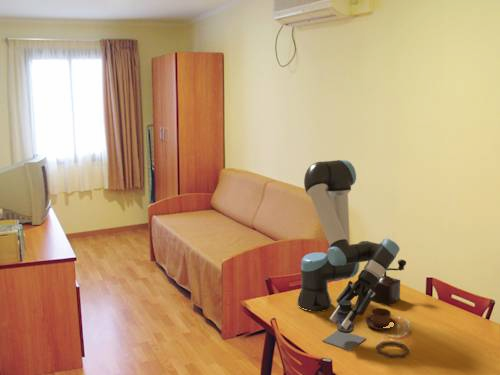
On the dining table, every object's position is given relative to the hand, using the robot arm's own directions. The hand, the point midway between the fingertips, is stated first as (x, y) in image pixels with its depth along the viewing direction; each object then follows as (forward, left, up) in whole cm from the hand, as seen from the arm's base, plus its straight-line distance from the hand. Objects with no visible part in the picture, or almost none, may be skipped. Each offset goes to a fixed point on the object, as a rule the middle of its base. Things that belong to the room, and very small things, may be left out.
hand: (337, 323), depth 190 cm
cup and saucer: (+5, +24, -8) cm, 26 cm away
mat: (+1, +4, -8) cm, 9 cm away
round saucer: (+19, +8, -8) cm, 22 cm away
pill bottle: (+1, +3, -4) cm, 5 cm away
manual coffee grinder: (-5, +53, -8) cm, 54 cm away
